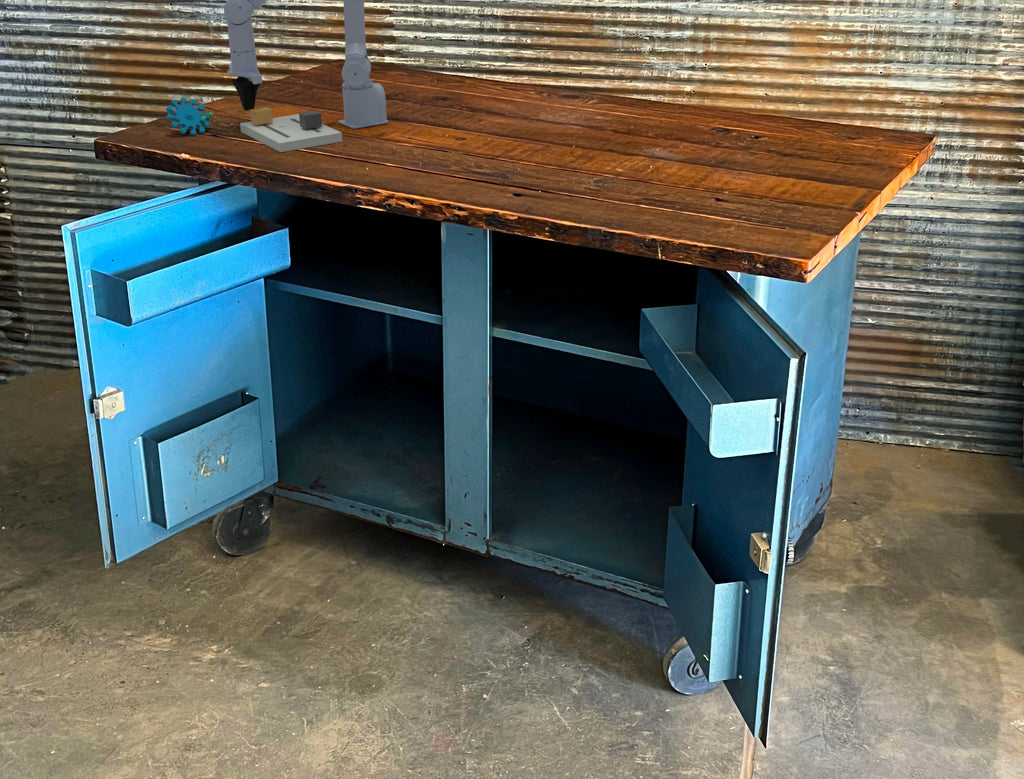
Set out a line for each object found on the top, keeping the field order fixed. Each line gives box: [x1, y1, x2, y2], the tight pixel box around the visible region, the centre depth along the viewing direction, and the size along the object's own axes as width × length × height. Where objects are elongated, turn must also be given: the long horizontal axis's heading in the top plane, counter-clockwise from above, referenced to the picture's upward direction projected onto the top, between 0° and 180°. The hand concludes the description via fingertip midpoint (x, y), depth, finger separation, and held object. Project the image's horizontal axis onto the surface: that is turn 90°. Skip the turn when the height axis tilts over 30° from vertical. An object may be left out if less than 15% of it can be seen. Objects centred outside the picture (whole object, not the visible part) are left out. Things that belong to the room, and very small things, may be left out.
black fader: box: [298, 110, 323, 129], centre depth 279 cm, size 4×3×3 cm
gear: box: [165, 96, 214, 137], centre depth 286 cm, size 11×6×10 cm
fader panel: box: [239, 113, 343, 153], centre depth 280 cm, size 15×22×2 cm
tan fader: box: [249, 106, 273, 125], centre depth 283 cm, size 4×3×3 cm
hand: (248, 109), depth 288 cm, fingers closed
